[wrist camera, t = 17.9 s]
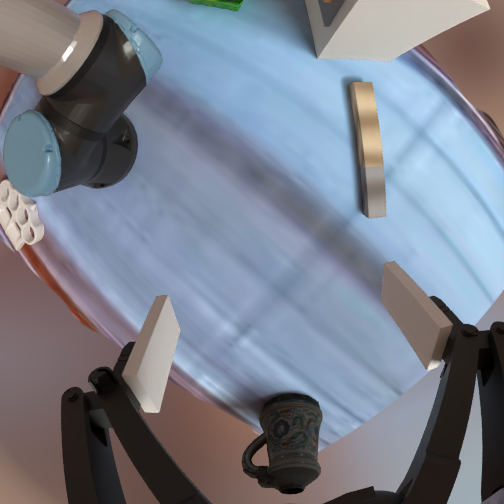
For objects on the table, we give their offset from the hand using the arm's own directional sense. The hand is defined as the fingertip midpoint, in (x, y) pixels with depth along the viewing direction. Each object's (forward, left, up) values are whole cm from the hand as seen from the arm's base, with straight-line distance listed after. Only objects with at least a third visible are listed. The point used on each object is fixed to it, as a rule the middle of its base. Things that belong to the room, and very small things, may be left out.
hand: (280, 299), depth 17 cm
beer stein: (+39, -40, -36) cm, 66 cm away
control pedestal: (-9, +36, -36) cm, 51 cm away
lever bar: (+8, +19, -36) cm, 41 cm away
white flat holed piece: (-45, -35, -36) cm, 68 cm away
